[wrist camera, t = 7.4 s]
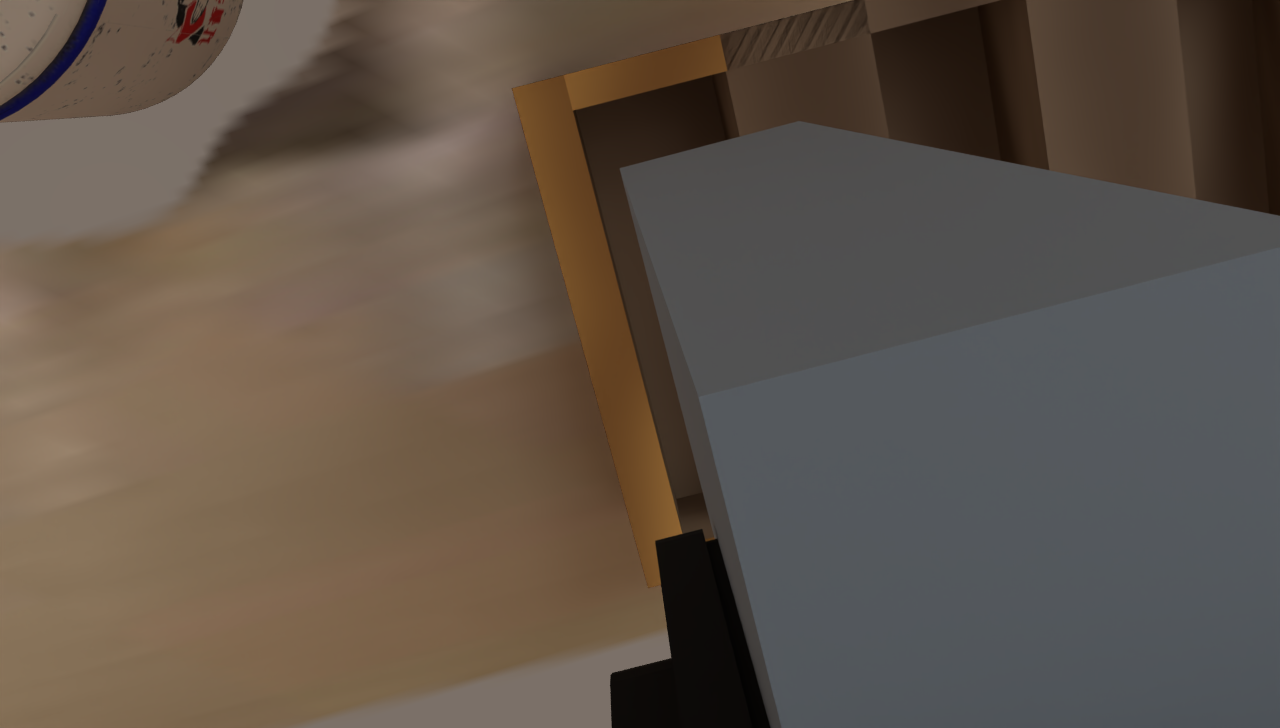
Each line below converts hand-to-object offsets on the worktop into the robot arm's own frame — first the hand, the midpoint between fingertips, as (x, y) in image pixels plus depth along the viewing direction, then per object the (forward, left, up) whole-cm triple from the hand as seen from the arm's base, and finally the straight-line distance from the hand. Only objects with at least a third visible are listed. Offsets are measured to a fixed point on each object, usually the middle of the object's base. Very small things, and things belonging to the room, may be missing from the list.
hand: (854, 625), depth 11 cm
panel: (0, 0, -4) cm, 4 cm away
